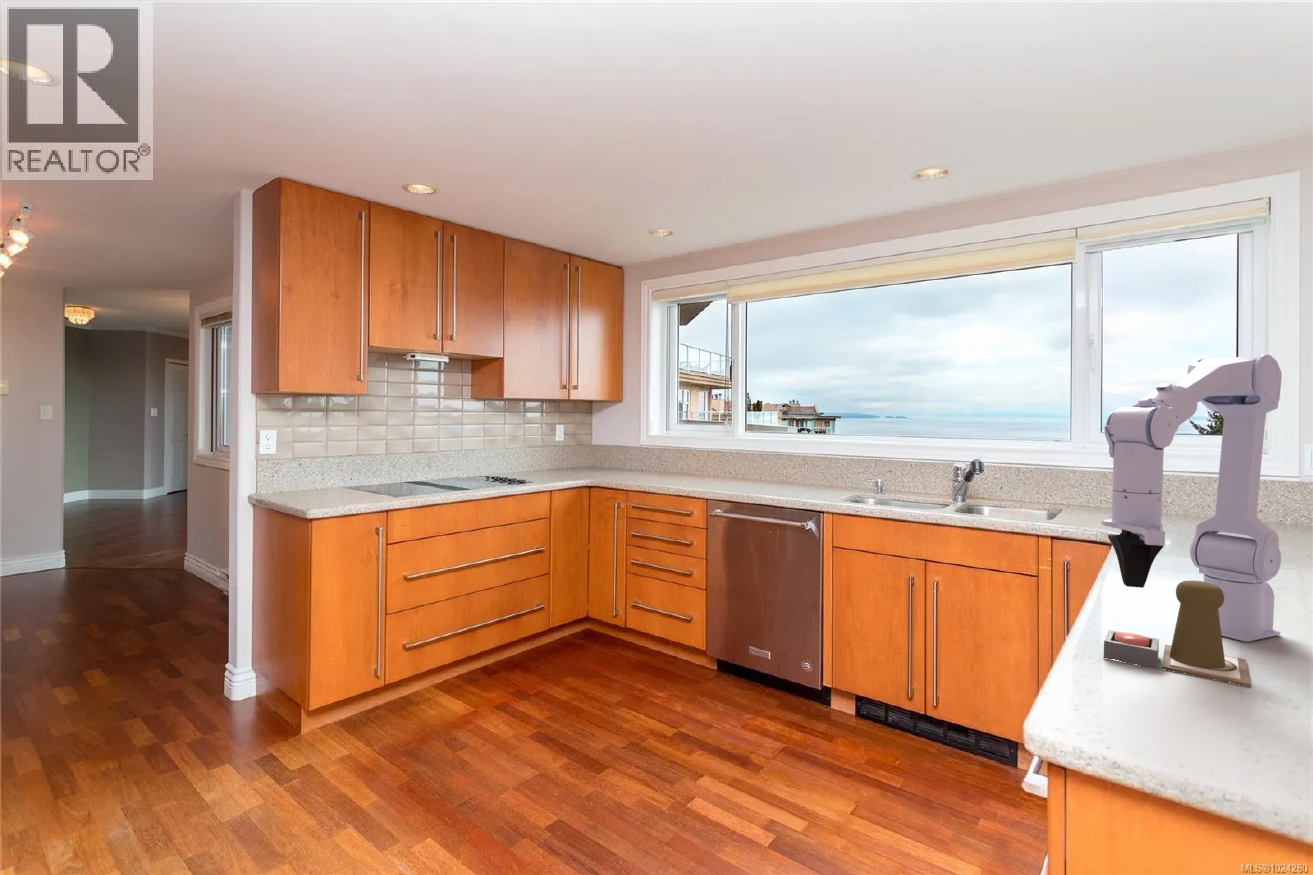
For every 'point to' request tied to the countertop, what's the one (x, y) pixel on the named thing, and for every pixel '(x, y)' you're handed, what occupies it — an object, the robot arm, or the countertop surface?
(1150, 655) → the button housing
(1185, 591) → the brown tapered cone
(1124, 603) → the countertop surface
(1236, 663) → the sketch board
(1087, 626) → the countertop surface
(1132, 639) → the button
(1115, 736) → the countertop surface
